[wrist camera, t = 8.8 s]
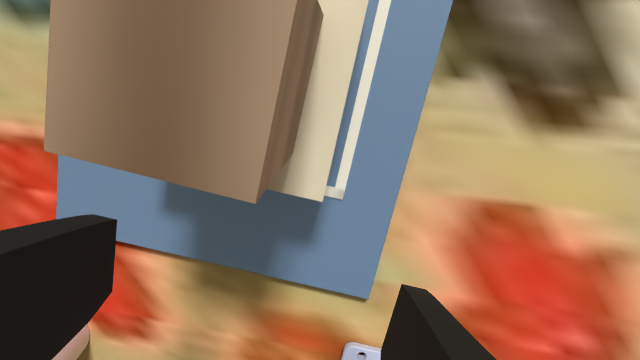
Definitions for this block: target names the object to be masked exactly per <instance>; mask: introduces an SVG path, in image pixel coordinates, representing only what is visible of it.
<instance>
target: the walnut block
mask: <svg viewBox="0 0 640 360" xmlns="http://www.w3.org/2000/svg"><path fill="white" fill-rule="evenodd" d="M323 16H324V14H323V12H322V9H321V7H320V4H319V2H318V0H51V7H50V29H49V50H48V71H47V93H46V114H45V135H44V151H47V152H51V153H55V154H59V155H63V156H67V157H71V158H75V159H79V160H83V161H87V162H91V163H95V164H99V165H103V166H107V167H111V168H115V169H119V170H123V171H127V172H131V173H135V174H139V175H143V176H147V177H150V178H154V179H158V180H162V181H166V182H170V183H174V184H178V185H182V186H186V187H190V188H194V189H198V190H202V191H206V192H210V193H214V194H218V195H222V196H226V197H230V198H234V199H238V200H242V201H246V202H250V203H254V204H256V202H257V201H258V200H259V198H260V197H261V196H262V194H263V193H264V192H265V190H266V189H267V188H268V186H269V185H270V184H271V182H272V181H273V180H274V178H275V177H276V176H277V174H278V173H279V172H280V170H281V169H282V167H283V166H284V165H285V163H286V162H287V161H288V159H289V158H290V157H291V155H292V154H293V150H294V145H295V141H296V136H297V132H298V127H299V123H300V118H301V114H302V109H303V105H304V101H305V96H306V92H307V87H308V83H309V78H310V74H311V69H312V65H313V60H314V56H315V51H316V47H317V42H318V38H319V34H320V29H321V25H322V20H323Z"/></svg>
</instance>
